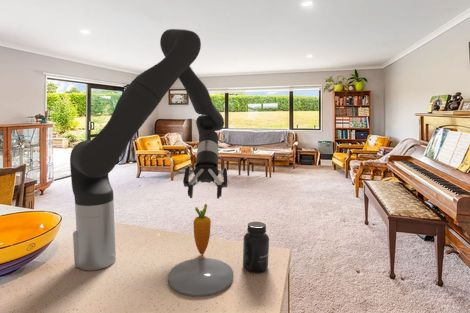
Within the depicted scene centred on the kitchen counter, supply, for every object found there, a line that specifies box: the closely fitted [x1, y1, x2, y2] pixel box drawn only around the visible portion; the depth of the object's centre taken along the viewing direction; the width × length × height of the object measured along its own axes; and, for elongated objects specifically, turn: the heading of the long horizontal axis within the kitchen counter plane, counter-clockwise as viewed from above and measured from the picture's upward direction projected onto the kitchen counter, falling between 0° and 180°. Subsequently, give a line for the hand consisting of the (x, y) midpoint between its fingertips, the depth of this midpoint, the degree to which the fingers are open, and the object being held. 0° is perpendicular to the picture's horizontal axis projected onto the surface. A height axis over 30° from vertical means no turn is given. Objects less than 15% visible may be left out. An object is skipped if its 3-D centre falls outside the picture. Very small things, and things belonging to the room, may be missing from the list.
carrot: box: [193, 203, 212, 256], centre depth 83 cm, size 5×5×15 cm
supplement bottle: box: [242, 221, 270, 274], centre depth 76 cm, size 7×7×12 cm
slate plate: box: [168, 257, 234, 297], centre depth 72 cm, size 16×16×1 cm
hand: (204, 197), depth 90 cm, fingers open, 8 cm apart
